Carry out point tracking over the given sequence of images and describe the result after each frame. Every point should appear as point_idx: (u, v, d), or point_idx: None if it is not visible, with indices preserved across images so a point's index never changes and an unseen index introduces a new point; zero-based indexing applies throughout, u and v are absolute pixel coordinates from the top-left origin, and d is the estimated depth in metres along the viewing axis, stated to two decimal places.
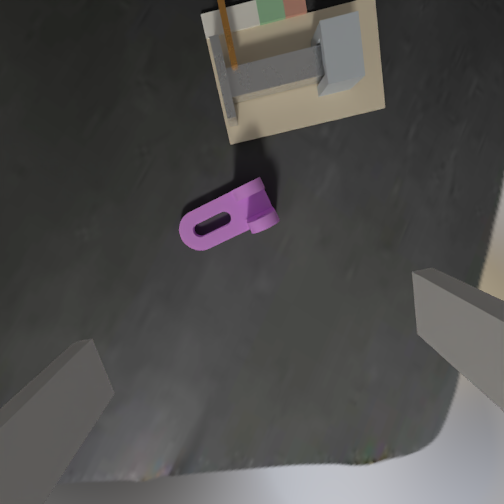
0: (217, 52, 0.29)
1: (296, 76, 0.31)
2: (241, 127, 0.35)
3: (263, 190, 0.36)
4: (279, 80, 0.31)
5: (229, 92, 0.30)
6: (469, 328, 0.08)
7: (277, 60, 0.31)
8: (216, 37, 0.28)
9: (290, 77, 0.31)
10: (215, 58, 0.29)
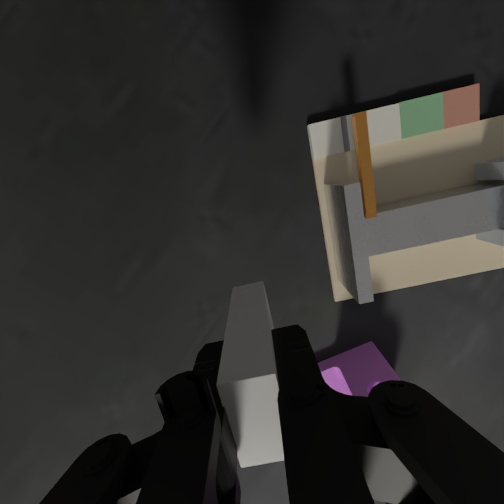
0: (355, 209, 0.17)
1: (465, 229, 0.19)
2: None
3: None
4: (437, 234, 0.19)
5: (367, 267, 0.18)
6: None
7: (439, 206, 0.19)
8: (356, 187, 0.17)
9: (456, 230, 0.19)
10: (350, 218, 0.17)
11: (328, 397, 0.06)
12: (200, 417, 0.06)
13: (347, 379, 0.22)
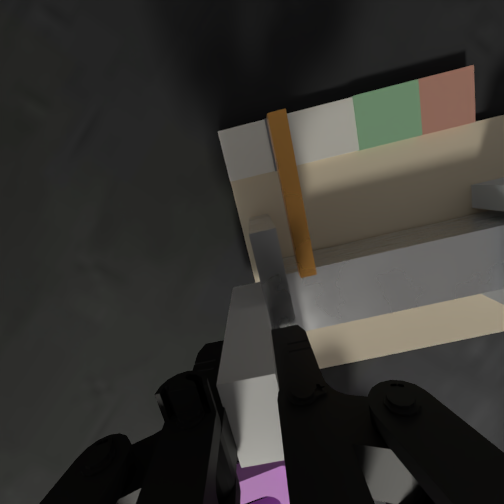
0: (271, 271, 0.10)
1: (458, 288, 0.12)
2: None
3: None
4: (414, 297, 0.13)
5: None
6: None
7: (416, 255, 0.12)
8: (269, 235, 0.10)
9: (444, 291, 0.12)
10: (265, 284, 0.10)
11: (328, 397, 0.06)
12: (200, 417, 0.06)
13: None
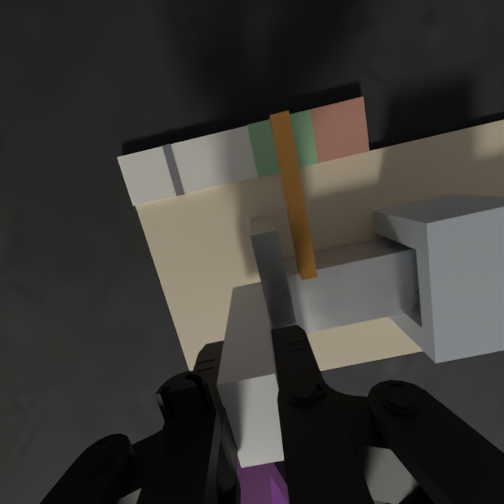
0: (272, 273, 0.10)
1: None
2: None
3: None
4: (415, 300, 0.13)
5: None
6: None
7: None
8: (271, 237, 0.10)
9: None
10: (266, 287, 0.10)
11: (328, 397, 0.06)
12: (200, 417, 0.06)
13: None
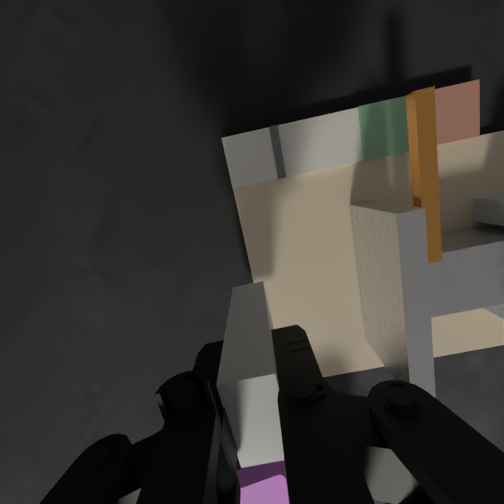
0: (413, 254, 0.10)
1: None
2: None
3: None
4: None
5: (428, 346, 0.11)
6: None
7: None
8: (417, 216, 0.10)
9: None
10: (404, 268, 0.10)
11: (328, 397, 0.06)
12: (200, 417, 0.06)
13: None
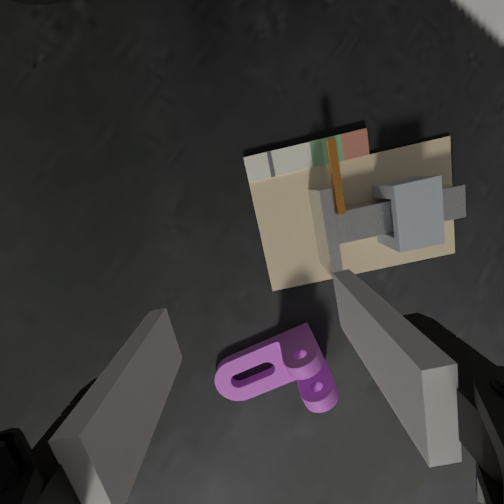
0: (327, 207, 0.23)
1: None
2: (286, 274, 0.30)
3: None
4: (392, 227, 0.26)
5: (338, 250, 0.24)
6: (358, 319, 0.10)
7: None
8: (328, 191, 0.23)
9: None
10: (324, 214, 0.24)
11: None
12: (12, 478, 0.06)
13: (282, 349, 0.29)
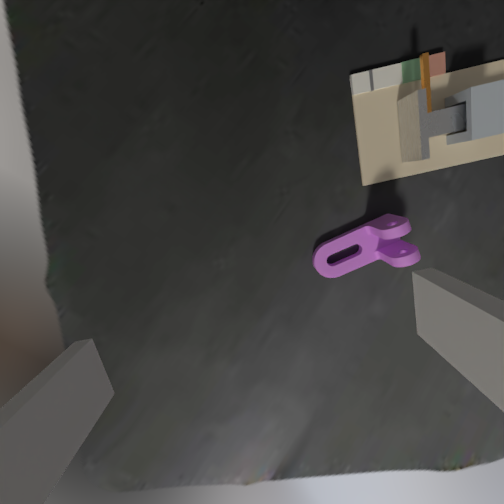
0: (422, 103, 0.32)
1: None
2: (374, 171, 0.39)
3: None
4: (463, 125, 0.35)
5: (427, 137, 0.33)
6: (469, 328, 0.08)
7: (465, 108, 0.34)
8: (423, 90, 0.32)
9: None
10: (419, 108, 0.33)
11: None
12: None
13: (374, 226, 0.38)
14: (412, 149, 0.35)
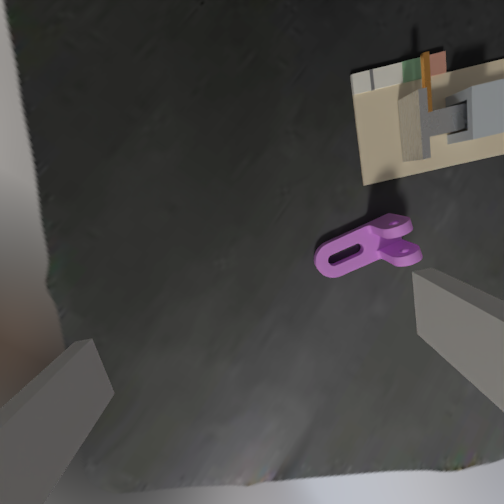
0: (423, 102, 0.32)
1: None
2: (375, 171, 0.39)
3: None
4: (464, 124, 0.35)
5: (428, 136, 0.33)
6: (469, 328, 0.08)
7: (465, 107, 0.34)
8: (424, 90, 0.32)
9: None
10: (420, 107, 0.33)
11: None
12: None
13: (376, 226, 0.38)
14: (413, 148, 0.35)
